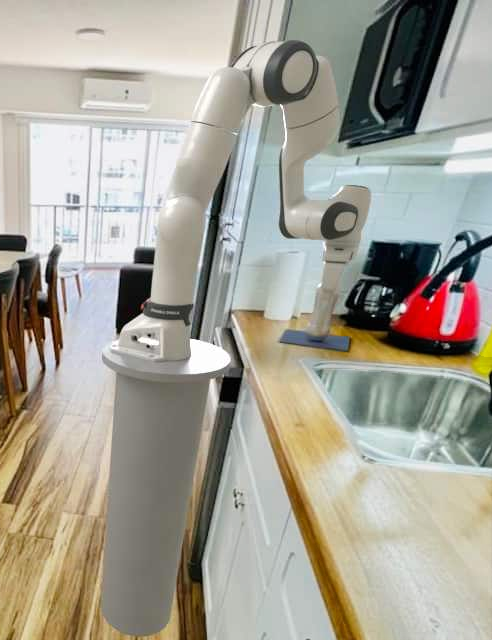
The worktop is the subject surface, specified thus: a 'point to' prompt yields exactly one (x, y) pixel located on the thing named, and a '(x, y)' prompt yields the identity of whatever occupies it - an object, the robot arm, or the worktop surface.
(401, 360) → the worktop surface
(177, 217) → the robot arm
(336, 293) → the plastic bottle
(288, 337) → the cloth
